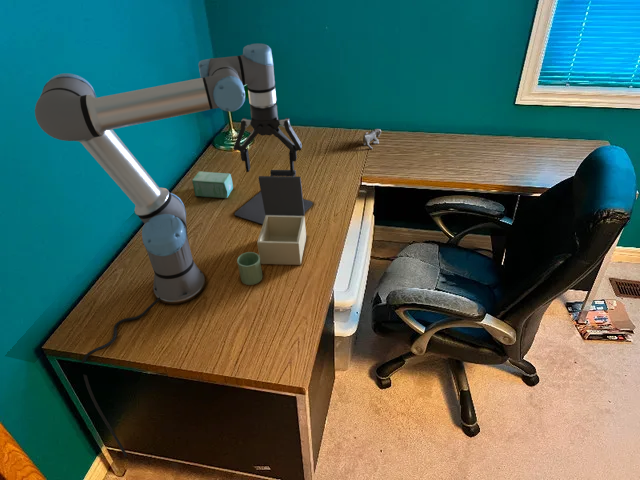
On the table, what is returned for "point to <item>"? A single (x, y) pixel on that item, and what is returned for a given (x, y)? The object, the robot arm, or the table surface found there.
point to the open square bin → (282, 240)
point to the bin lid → (282, 193)
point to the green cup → (250, 268)
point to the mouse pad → (260, 209)
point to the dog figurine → (371, 137)
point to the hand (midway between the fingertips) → (270, 170)
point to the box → (212, 184)
